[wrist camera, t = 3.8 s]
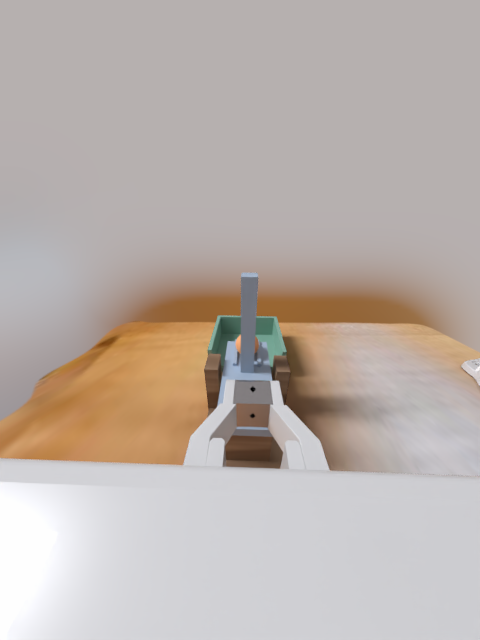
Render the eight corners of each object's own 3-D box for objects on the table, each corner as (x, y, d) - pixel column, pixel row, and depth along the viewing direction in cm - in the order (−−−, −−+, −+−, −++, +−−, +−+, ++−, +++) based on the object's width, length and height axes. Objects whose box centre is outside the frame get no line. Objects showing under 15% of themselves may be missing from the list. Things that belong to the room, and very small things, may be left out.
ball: (251, 344, 29) (252, 326, 28) (262, 357, 26) (264, 337, 25) (232, 350, 28) (231, 331, 26) (241, 363, 25) (241, 343, 24)
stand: (297, 492, 19) (311, 448, 15) (193, 487, 19) (183, 443, 15) (276, 376, 32) (281, 338, 29) (216, 374, 33) (213, 337, 29)
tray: (283, 375, 32) (286, 351, 30) (209, 373, 33) (207, 349, 30) (274, 336, 43) (276, 316, 41) (219, 335, 43) (218, 315, 41)
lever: (279, 437, 18) (301, 309, 12) (213, 434, 18) (200, 308, 12) (266, 347, 30) (273, 262, 24) (227, 346, 30) (224, 262, 24)
